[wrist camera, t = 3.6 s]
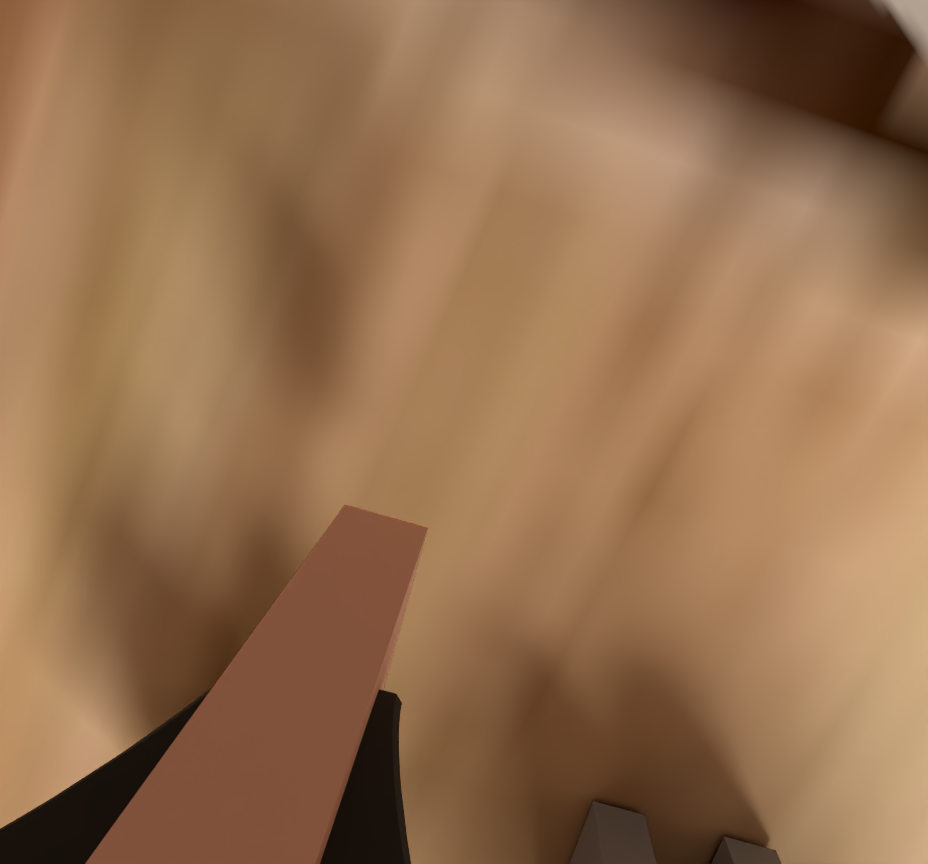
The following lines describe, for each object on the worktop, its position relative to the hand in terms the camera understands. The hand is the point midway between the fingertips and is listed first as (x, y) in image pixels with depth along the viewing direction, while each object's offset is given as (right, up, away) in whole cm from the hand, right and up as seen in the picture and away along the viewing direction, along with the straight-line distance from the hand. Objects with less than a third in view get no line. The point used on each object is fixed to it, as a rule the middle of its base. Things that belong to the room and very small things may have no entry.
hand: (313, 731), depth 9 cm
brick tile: (0, +1, +2) cm, 3 cm away
